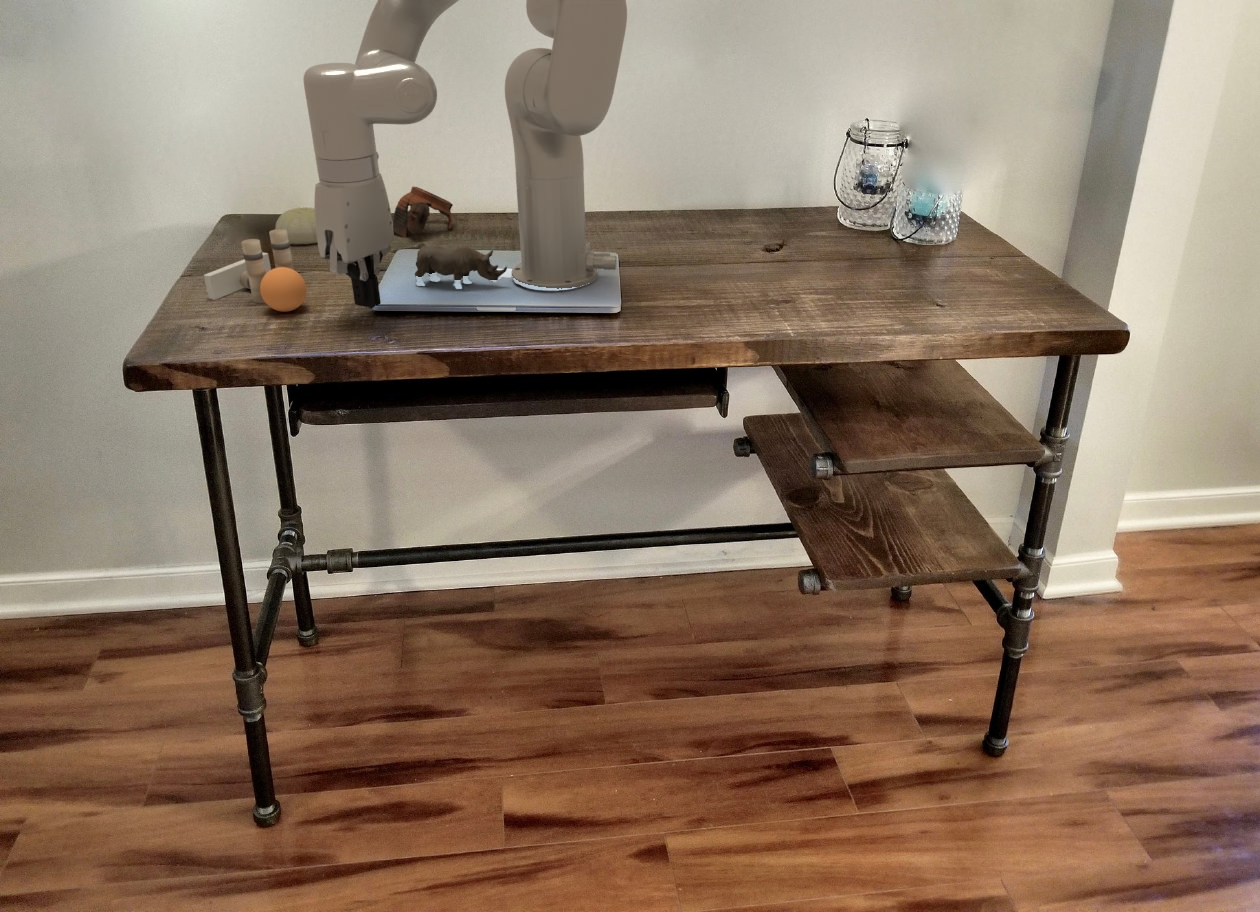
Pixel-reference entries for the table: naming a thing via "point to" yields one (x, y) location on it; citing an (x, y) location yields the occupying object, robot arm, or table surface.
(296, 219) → the sea urchin shell
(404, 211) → the rust brown arched piece
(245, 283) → the front pin
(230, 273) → the rail
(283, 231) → the right pin
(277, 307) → the ball
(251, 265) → the left pin
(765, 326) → the table surface
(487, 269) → the rhino figurine
